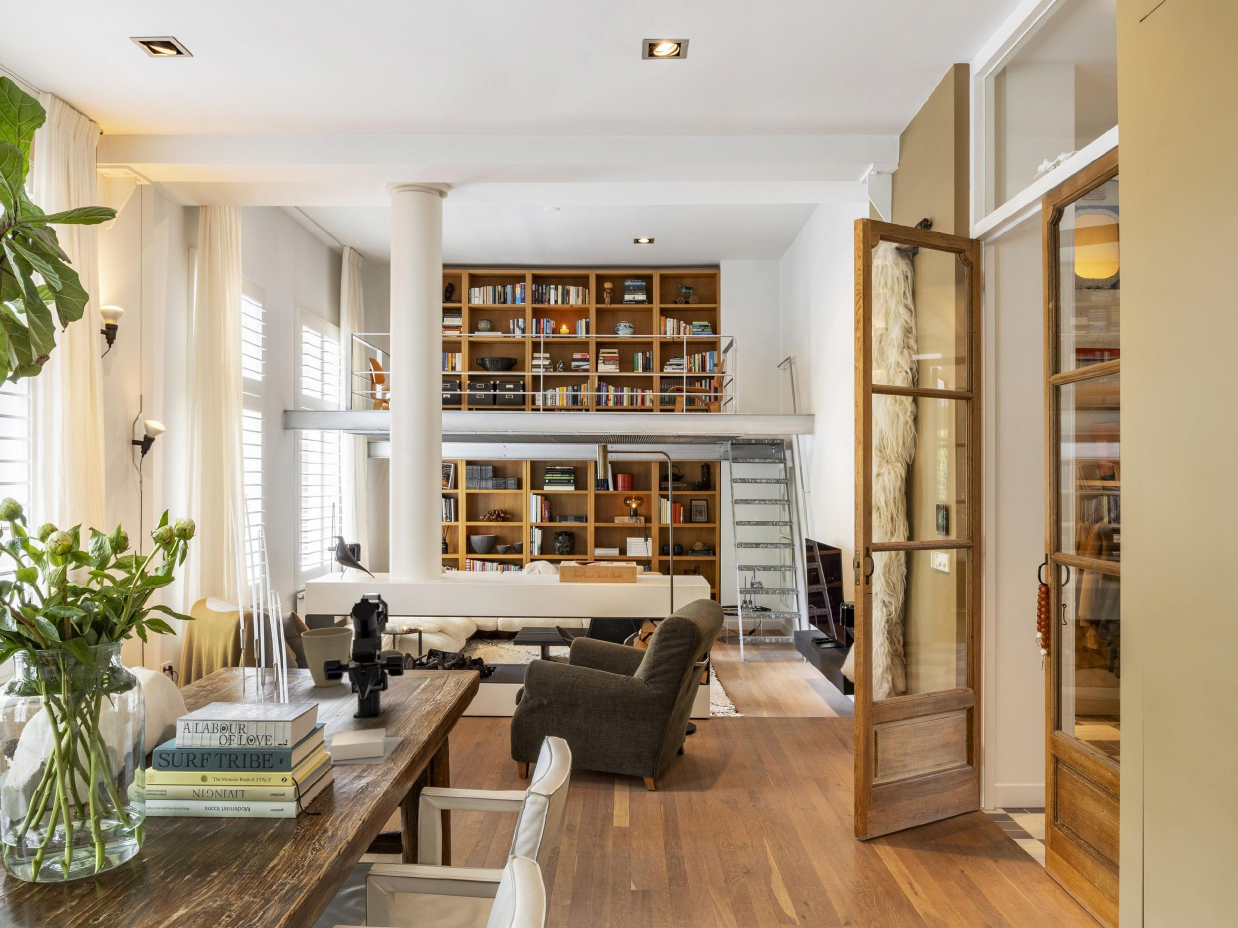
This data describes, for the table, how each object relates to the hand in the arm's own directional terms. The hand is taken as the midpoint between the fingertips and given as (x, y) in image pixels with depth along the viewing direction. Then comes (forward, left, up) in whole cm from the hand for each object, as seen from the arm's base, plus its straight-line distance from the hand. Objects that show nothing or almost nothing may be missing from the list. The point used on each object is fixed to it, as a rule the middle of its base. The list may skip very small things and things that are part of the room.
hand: (362, 698), depth 198 cm
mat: (+10, +2, -9) cm, 14 cm away
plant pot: (-53, -28, -10) cm, 60 cm away
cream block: (+7, +2, -7) cm, 10 cm away
